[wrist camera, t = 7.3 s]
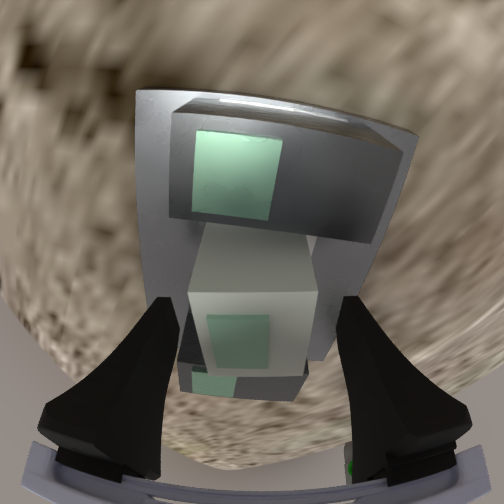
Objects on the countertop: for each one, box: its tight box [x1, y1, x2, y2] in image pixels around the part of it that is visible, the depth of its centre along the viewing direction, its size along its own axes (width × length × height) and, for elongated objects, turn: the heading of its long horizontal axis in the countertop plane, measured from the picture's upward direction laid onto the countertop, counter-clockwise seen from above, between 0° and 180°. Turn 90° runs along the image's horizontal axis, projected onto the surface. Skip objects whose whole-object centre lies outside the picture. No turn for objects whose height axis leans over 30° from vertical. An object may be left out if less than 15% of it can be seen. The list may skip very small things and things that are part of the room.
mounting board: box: [135, 88, 419, 401], centre depth 14 cm, size 12×16×5 cm
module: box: [187, 222, 318, 377], centre depth 13 cm, size 4×5×5 cm
